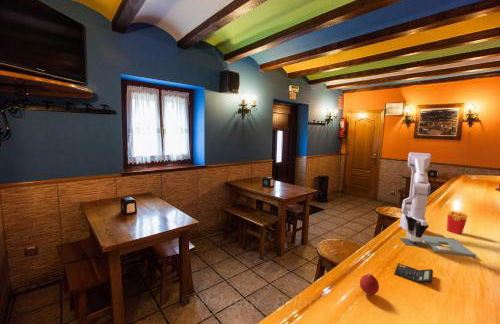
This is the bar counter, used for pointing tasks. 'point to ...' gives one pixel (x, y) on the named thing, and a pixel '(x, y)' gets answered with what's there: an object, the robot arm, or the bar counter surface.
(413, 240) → the tan cubic block
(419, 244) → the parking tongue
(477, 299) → the bar counter surface
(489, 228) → the bar counter surface
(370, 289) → the onion
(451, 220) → the french fries
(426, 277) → the calculator
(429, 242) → the hole plate
